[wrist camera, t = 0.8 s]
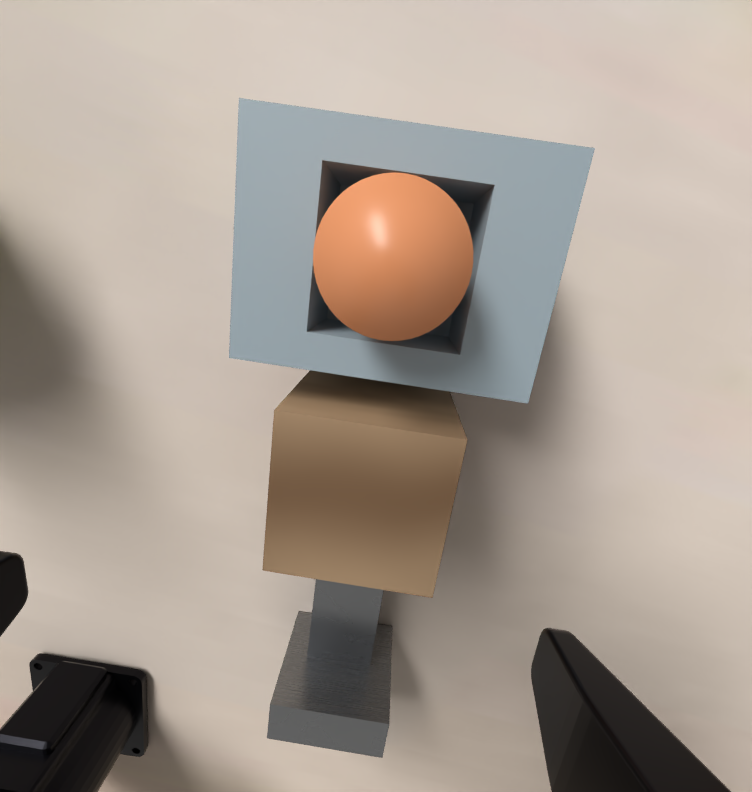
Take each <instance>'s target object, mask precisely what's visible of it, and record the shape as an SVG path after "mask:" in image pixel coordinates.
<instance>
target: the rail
mask: <svg viewBox="0 0 752 792" xmlns="http://www.w3.org/2000/svg"><path fill="white" fill-rule="evenodd" d="M382 595H383V590H381V589H375V588H368V587H362V586H356V585H350V584H344V583H338V582H331V581H325V580H319V579H316V585H315V593H314V601H313V610H312V613H308V612H302V611H299V612H298V615H297V618H296V621H295V625H294V628H293V631H292V635H291V638H290V641H289V644H288V648H287V651H286V654H285V657H284V661H283V664H282V667H281V671H280V674H279V677H278V680H277V684H276V687H275V690H274V693H273V697H272V700H271V703H270V712H269V723H268V734H267V738H269V739H275V740H280V741H286V742H292V743H298V744H304V745H310V746H316V747H322V748H328V749H334V750H339V751H345V752H351V753H357V754H363V755H369V756H375V757H381V758H382V756H383V752H384V747H385V742H386V737H387V732H388V728H389V714H390V683H391V652H392V626H387V625H381V624H377V623H378V618H379V612H380V607H381V601H382Z"/></svg>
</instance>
